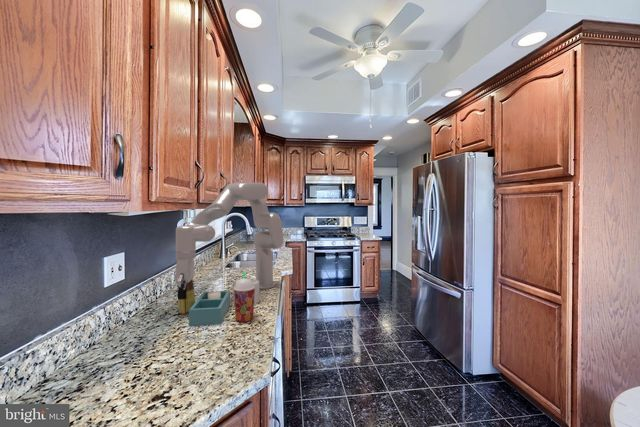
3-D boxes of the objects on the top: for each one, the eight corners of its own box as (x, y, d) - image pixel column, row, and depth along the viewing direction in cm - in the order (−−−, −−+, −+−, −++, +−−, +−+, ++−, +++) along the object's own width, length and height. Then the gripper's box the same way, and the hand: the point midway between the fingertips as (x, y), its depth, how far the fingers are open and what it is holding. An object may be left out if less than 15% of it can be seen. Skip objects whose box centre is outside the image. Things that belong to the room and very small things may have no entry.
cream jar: (209, 307, 121) (209, 291, 120) (221, 306, 122) (221, 291, 121) (206, 311, 116) (206, 295, 115) (219, 311, 116) (219, 294, 116)
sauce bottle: (196, 310, 120) (195, 265, 119) (193, 316, 114) (193, 268, 113) (179, 311, 118) (179, 266, 117) (176, 317, 112) (175, 269, 111)
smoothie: (254, 315, 114) (254, 268, 113) (256, 324, 106) (256, 273, 105) (233, 318, 111) (233, 269, 111) (233, 327, 103) (233, 274, 103)
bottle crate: (204, 307, 123) (203, 292, 123) (230, 305, 125) (230, 290, 125) (189, 328, 102) (188, 310, 102) (220, 326, 104) (220, 308, 104)
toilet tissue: (260, 306, 125) (260, 284, 125) (233, 309, 121) (233, 286, 121) (258, 298, 135) (258, 278, 135) (232, 301, 131) (232, 280, 131)
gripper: (183, 251, 123) (183, 289, 123) (168, 259, 106) (168, 302, 106) (200, 251, 124) (200, 288, 124) (188, 258, 107) (189, 301, 107)
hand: (186, 295), depth 115 cm, fingers open, 9 cm apart
